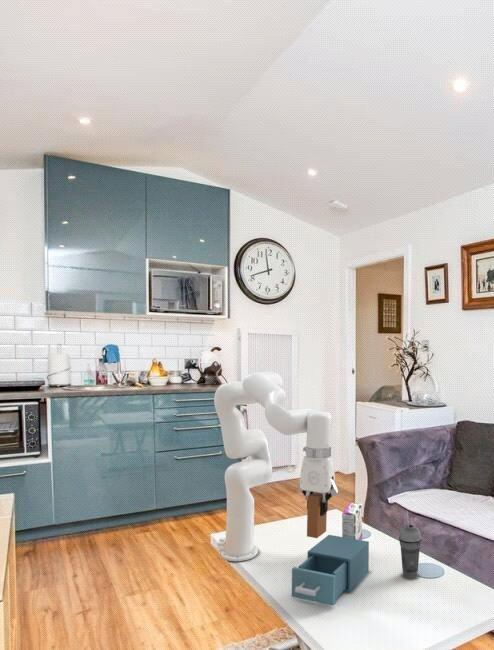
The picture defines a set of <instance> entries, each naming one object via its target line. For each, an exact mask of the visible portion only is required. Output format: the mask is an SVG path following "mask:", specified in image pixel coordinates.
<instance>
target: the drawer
mask: <svg viewBox="0 0 494 650" xmlns="http://www.w3.org/2000/svg"><path fill="white" fill-rule="evenodd" d="M347 586H348V562H347V561H342V560H337V559H332V558H326V557H321V556H316V555H312V556H310V557H309V558H308V557H307V559H306V560H304V561H303V562H301V564H299V565H298V567H297V566H293V567H292V568H291V597H292V598H298V599H300V600H301V599H302V600H306V601H309V602H314V603H317V604H321V605H322V604H323V605H327V606H332V607H334V606H335V604H336V599H338V597H339V596H340V595H341V594H342V593H343V592H344V590H345V589H346V587H347Z"/></svg>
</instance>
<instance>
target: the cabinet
mask: <svg viewBox="0 0 494 650" xmlns="http://www.w3.org/2000/svg"><path fill="white" fill-rule="evenodd" d="M312 555H316V556H321V557H326V558H332V559H337V560H342V561H347V562H348V586H347V587H346V589H345V590H344V591H343V592H345V593H349V594H350V593H352V592H353V590H355V588H356V587H357V586H358V585H359V583H360V582H361V581H362V580H363V579H364V578H365V577H366V575H368V573H369V572H370V571H369V570H370V567H369V565H370V561H369V560H370V558H369V557H370V541H368V540H363V539H362V540H357V539H351V538H345V537H342V536H338V535H332V534H328V535H327V536H325V537H324V538H323V539H321V540H320V541H319V542H318V543H316V544H315V545H314V546H312V547H311V548H310V549H309V550H307V559H308V558H309V557H310V556H312Z"/></svg>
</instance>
